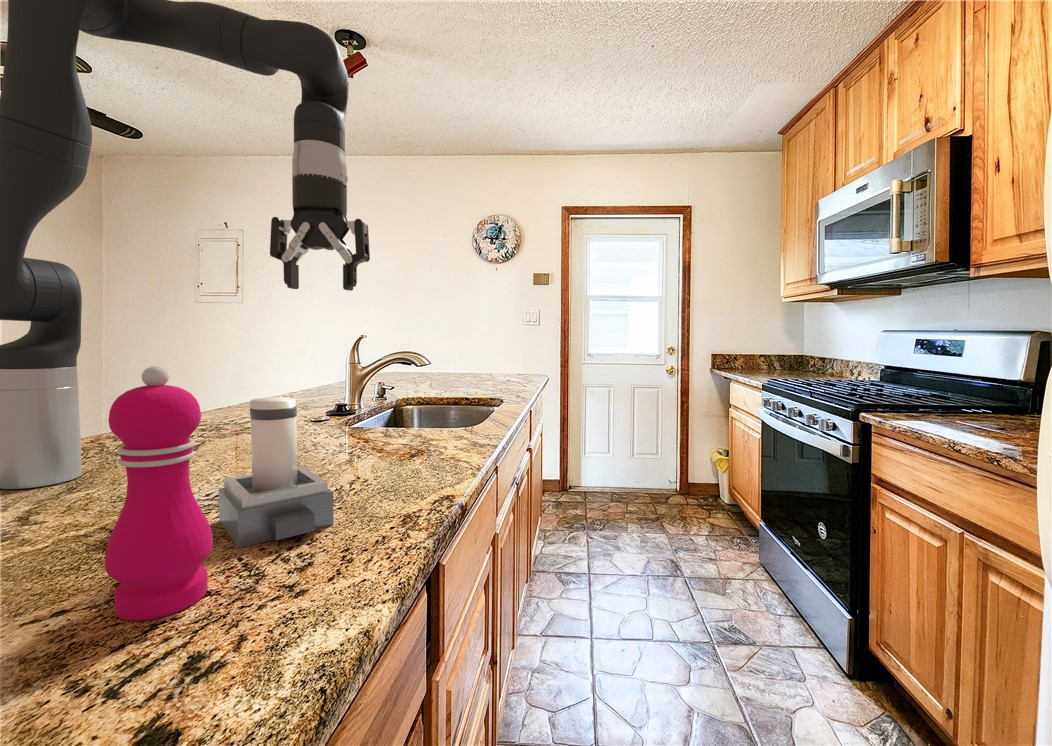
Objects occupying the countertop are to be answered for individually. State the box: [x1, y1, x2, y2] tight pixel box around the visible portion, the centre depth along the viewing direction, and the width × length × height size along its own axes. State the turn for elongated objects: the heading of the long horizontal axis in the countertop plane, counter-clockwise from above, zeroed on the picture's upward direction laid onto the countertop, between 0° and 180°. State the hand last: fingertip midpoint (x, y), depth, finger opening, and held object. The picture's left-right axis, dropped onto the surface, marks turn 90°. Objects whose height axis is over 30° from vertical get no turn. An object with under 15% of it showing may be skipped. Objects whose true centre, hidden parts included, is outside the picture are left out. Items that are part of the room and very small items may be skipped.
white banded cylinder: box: [249, 396, 298, 493], centre depth 56 cm, size 5×5×11 cm
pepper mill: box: [104, 365, 214, 622], centre depth 39 cm, size 7×7×20 cm
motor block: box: [218, 466, 335, 549], centre depth 56 cm, size 12×10×5 cm
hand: (320, 289), depth 71 cm, fingers open, 8 cm apart
